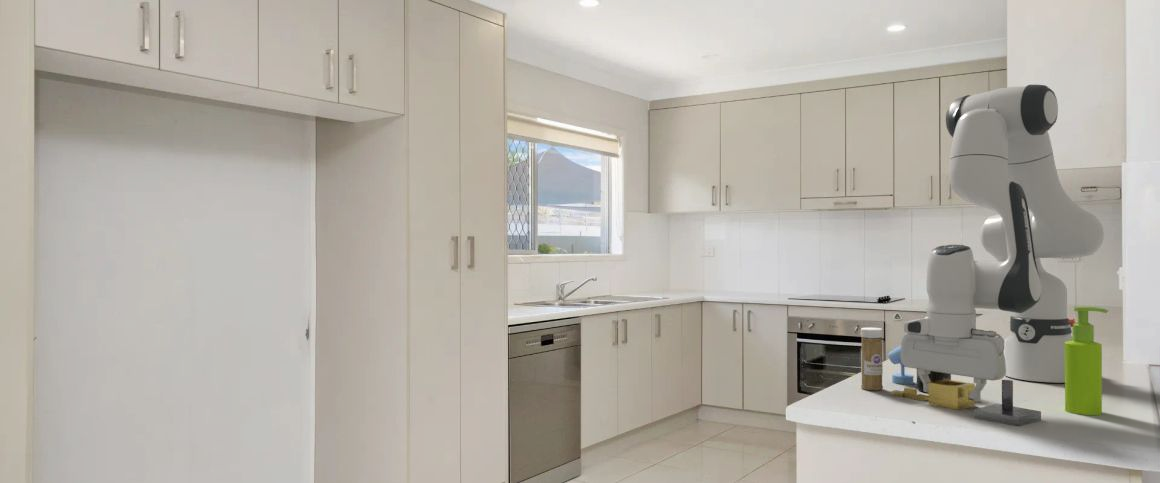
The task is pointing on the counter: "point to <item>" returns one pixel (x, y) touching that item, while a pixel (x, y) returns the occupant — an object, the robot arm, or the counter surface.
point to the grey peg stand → (1007, 409)
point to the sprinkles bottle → (871, 358)
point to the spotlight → (901, 377)
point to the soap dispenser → (1083, 367)
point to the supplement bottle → (932, 378)
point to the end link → (950, 394)
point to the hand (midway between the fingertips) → (951, 396)
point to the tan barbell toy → (910, 394)
